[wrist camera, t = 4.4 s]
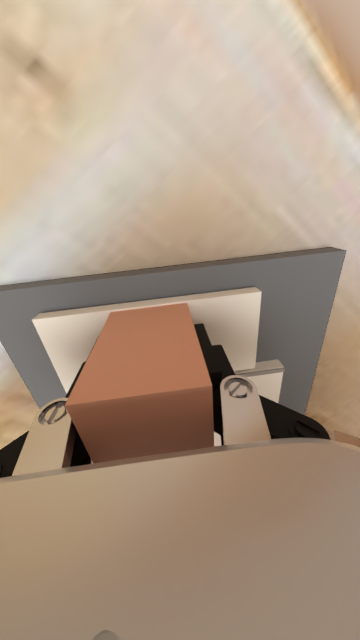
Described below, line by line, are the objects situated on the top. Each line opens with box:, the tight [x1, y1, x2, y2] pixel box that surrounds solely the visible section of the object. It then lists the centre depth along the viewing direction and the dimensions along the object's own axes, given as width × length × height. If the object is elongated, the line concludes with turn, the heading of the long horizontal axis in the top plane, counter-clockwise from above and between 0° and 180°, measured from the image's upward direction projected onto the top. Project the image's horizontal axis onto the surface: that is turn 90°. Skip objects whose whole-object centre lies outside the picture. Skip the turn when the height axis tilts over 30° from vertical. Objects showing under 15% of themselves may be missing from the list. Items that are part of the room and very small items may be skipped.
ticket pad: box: [0, 247, 346, 446], centre depth 15 cm, size 16×20×2 cm
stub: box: [32, 287, 262, 464], centre depth 10 cm, size 5×12×7 cm, turn 96°
